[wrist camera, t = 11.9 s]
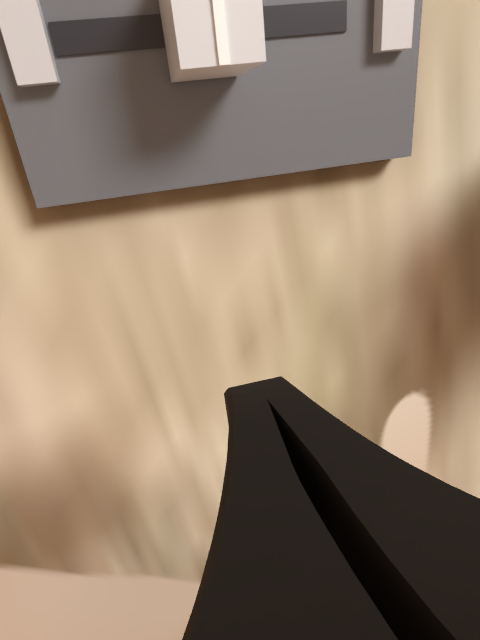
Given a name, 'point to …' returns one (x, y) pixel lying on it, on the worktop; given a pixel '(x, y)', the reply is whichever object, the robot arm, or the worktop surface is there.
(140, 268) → the worktop surface
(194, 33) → the cream slider knob
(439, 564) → the robot arm
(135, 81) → the fader console
